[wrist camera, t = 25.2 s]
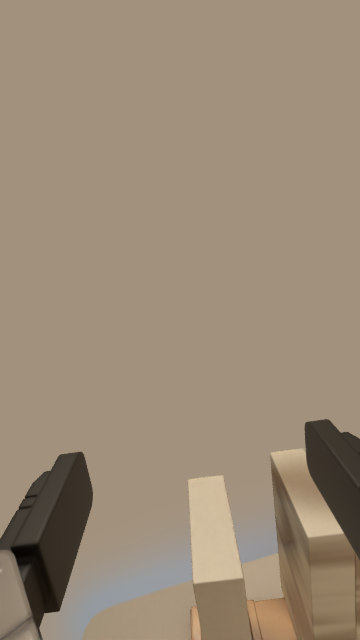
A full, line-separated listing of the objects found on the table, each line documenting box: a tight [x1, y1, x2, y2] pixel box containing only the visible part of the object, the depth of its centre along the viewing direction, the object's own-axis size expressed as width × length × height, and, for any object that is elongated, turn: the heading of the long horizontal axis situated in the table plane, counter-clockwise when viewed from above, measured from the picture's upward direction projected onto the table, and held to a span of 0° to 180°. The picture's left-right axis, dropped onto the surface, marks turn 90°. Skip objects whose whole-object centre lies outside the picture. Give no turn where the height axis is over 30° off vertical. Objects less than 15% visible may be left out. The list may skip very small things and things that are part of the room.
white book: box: [188, 475, 251, 640], centre depth 26 cm, size 9×3×17 cm, turn 1°
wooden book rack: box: [190, 448, 360, 640], centre depth 26 cm, size 12×17×18 cm
